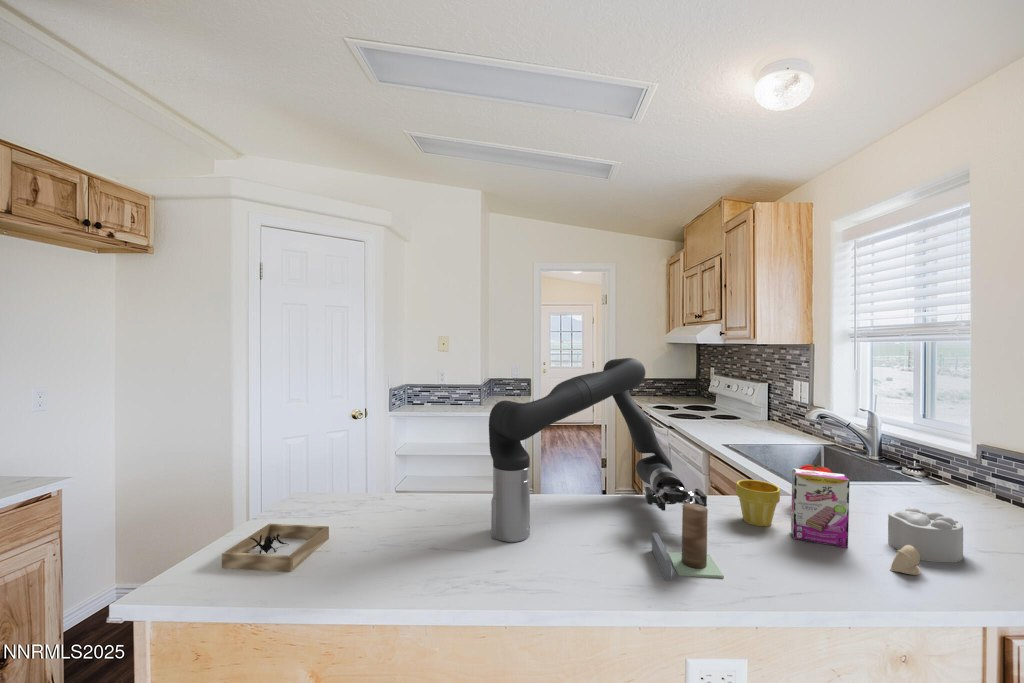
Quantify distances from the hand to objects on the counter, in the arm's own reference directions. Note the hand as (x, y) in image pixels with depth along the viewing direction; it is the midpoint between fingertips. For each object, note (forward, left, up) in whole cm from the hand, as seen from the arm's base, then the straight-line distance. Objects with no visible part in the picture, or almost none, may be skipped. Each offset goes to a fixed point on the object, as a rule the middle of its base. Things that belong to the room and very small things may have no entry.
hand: (682, 507), depth 105 cm
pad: (0, -10, -9) cm, 13 cm away
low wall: (-7, -10, -9) cm, 15 cm away
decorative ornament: (+44, -7, -9) cm, 45 cm away
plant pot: (+24, +16, -9) cm, 31 cm away
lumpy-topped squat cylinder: (+56, +3, -9) cm, 57 cm away
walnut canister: (0, -9, -8) cm, 13 cm away
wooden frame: (-93, -14, -9) cm, 94 cm away
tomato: (+44, +26, -9) cm, 52 cm away
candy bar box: (+34, +6, -9) cm, 36 cm away
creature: (-96, -13, -9) cm, 97 cm away
